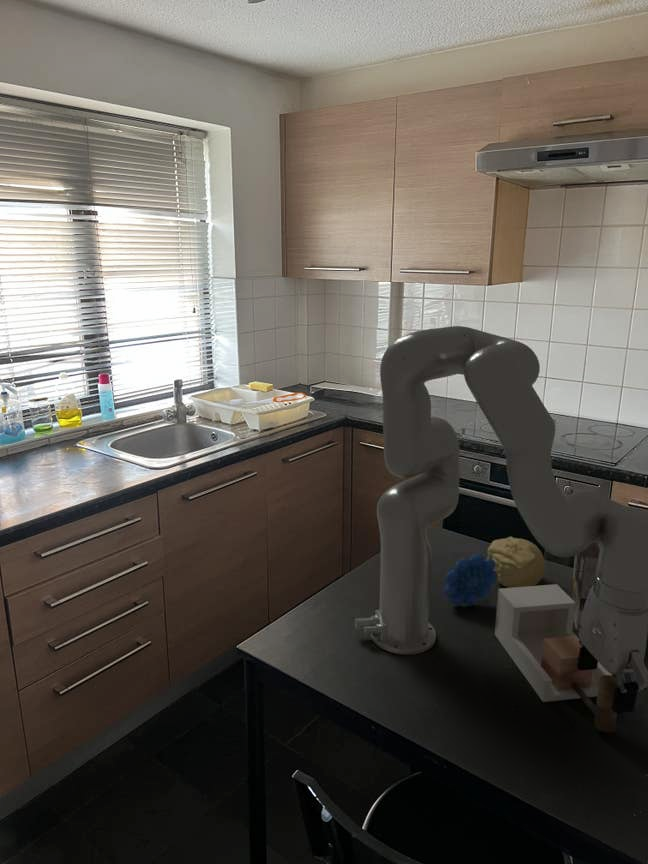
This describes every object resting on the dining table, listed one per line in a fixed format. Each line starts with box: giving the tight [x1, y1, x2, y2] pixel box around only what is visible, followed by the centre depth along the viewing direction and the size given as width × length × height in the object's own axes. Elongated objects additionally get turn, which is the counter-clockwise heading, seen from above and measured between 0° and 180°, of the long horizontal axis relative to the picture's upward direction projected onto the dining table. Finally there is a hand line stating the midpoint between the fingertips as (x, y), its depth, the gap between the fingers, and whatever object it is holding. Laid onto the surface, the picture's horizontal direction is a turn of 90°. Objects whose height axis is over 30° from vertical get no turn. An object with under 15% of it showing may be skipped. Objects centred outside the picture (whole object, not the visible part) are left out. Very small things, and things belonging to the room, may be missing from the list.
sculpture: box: [486, 536, 546, 588], centre depth 145 cm, size 12×12×11 cm
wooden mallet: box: [541, 635, 619, 733], centre depth 106 cm, size 6×16×8 cm, turn 9°
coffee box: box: [570, 543, 600, 631], centre depth 129 cm, size 9×6×16 cm
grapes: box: [443, 553, 498, 607], centre depth 136 cm, size 12×7×12 cm, turn 98°
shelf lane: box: [494, 583, 613, 703], centre depth 116 cm, size 12×20×10 cm, turn 9°
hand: (603, 688), depth 99 cm, fingers open, 9 cm apart
